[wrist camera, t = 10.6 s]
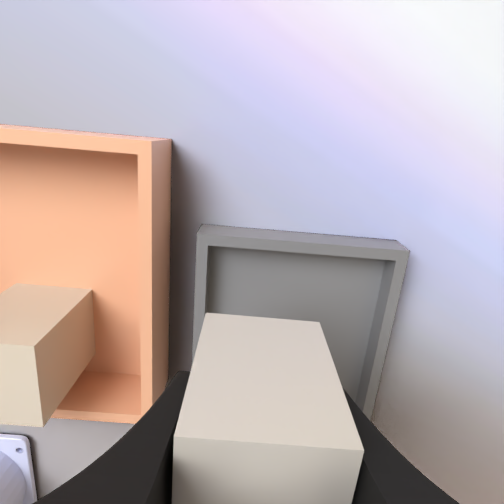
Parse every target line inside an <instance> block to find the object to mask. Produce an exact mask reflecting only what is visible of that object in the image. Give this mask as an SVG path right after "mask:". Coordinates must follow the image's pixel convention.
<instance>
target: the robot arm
mask: <svg viewBox="0 0 504 504" xmlns="http://www.w3.org/2000/svg"><path fill="white" fill-rule="evenodd" d="M189 376H190V372H186V371H179V372H178V373H176V375H175V376H174V378H173V379H172V381H171V382H170V384H169V385H168V386H167V388H166V389H165V390H164V392H163V393H162V394H161V395H160V397H159V398H158V399H157V400H156V402H155V403H154V404H153V405H152V406H151V408H150V409H149V410H148V411H147V412H146V413H145V414H144V415H143V417H142V418H141V419H140V420H139V421H138V422H137V423H136V424H135V425H134V426H133V427H132V428H131V429H130V430H129V431H128V432H127V433H126V434H125V435H124V436H123V437H122V438H121V439H120V440H119V441H118V442H117V443H115V444H114V445H113V446H112V447H111V448H110V449H109V450H108V451H106V452H105V453H104V454H103V455H102V456H100V457H99V458H98V459H97V460H95V461H94V462H93V463H92V464H91V465H89V466H88V467H87V468H85V469H84V470H83V471H81V472H80V473H79V474H77V475H76V476H74V477H73V478H71V479H70V480H68V481H67V482H66V483H64V484H63V485H61V486H60V487H58V488H57V489H55V490H54V491H52V492H51V493H49V494H48V495H46V496H44V497H43V498H41V499H39V500H38V501H37V494H36V487H35V480H34V473H33V466H32V458H31V451H30V444H29V440H28V438H27V437H25V436H23V435H10V434H0V504H172V477H173V445H174V434H175V430H176V426H177V422H178V418H179V414H180V410H181V407H182V403H183V399H184V395H185V391H186V387H187V384H188V380H189ZM342 388H343V387H342ZM343 391H344V394H345V397H346V400H347V402H348V405H349V408H350V411H351V414H352V417H353V420H354V423H355V425H356V428H357V431H358V434H359V437H360V440H361V443H362V446H363V448H364V454H363V458H362V462H361V466H360V470H359V474H358V479H357V483H356V487H355V491H354V495H353V499H352V503H351V504H459V503H458V502H457V501H455V500H454V499H453V498H451V497H450V496H449V495H448V494H446V493H445V492H444V491H442V490H441V489H440V488H439V487H437V486H436V485H435V484H434V483H432V482H431V481H430V480H429V479H428V478H427V477H425V476H424V475H423V474H422V473H421V472H420V471H419V470H418V469H416V468H415V467H414V466H413V465H412V464H411V463H410V462H409V461H408V460H407V459H406V458H404V457H403V456H402V455H401V454H400V453H399V452H398V451H397V450H396V449H395V448H394V447H393V445H392V444H391V443H390V442H389V441H388V440H387V439H386V438H385V437H384V436H383V435H382V434H381V433H380V432H379V431H378V429H377V428H376V427H375V426H374V425H373V424H372V422H371V421H370V420H369V419H368V418H367V417H366V415H365V414H364V413H363V412H362V411H361V409H360V408H359V407H358V406H357V404H356V403H355V402H354V401H353V399H352V398H351V397H350V396H349V394H348V393H347V392H346V391H345V389H344V388H343Z"/></svg>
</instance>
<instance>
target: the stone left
mask: <svg viewBox="0 0 504 504" xmlns="http://www.w3.org/2000/svg"><path fill="white" fill-rule="evenodd" d="M95 354H96V350H95V332H94V314H93V296H92V289H83V288H71V287H59V286H47V285H34V284H22V283H16V284H14V285H13V286H11V287H10V288H8V289H6V290H5V291H3V292H2V293H0V424H7V425H21V426H35V427H44V425H45V424H46V423H47V421H48V420H49V418H50V417H51V416H52V414H53V413H54V411H55V410H56V409H57V407H58V406H59V404H60V403H61V402H62V400H63V399H64V397H65V396H66V394H67V393H68V392H69V390H70V389H71V387H72V386H73V385H74V383H75V382H76V380H77V379H78V378H79V376H80V375H81V373H82V372H83V371H84V369H85V368H86V366H87V365H88V363H89V362H90V361H91V359H92V358H93V356H94V355H95Z"/></svg>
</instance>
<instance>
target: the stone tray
mask: <svg viewBox="0 0 504 504" xmlns="http://www.w3.org/2000/svg"><path fill="white" fill-rule="evenodd" d="M409 253H410V251H409V250H408V249H407V248H406V247H404V246H403V245H402V244H400V243H399V242H398V241H396V240H389V239H377V238H365V237H352V236H340V235H328V234H316V233H304V232H292V231H280V230H268V229H255V228H243V227H231V226H219V225H207V224H202V225H201V227H200V229H199V230H198V232H197V241H196V268H195V295H194V321H193V348H192V364H193V360H194V357H195V353H196V349H197V345H198V341H199V337H200V333H201V330H202V326H203V322H204V318H205V314H206V313H217V314H229V315H241V316H253V317H265V318H277V319H289V320H301V321H313V322H320V325H321V328H322V331H323V334H324V336H325V339H326V342H327V345H328V348H329V351H330V354H331V356H332V359H333V362H334V365H335V368H336V371H337V374H338V377H339V379H340V382H341V385H342V387H343V388H344V389H345V391H346V392H347V393H348V394H349V396H350V397H351V398H352V399H353V401H354V402H355V403H356V404H357V406H358V407H359V408H360V409H361V411H362V412H363V413H364V414H365V415H366V417H367V418H368V419H369V420H370V421H371V417H372V412H373V408H374V404H375V400H376V395H377V391H378V387H379V382H380V378H381V374H382V369H383V365H384V361H385V356H386V352H387V348H388V344H389V339H390V335H391V331H392V326H393V322H394V318H395V313H396V309H397V305H398V300H399V296H400V292H401V288H402V283H403V279H404V275H405V270H406V266H407V262H408V257H409Z"/></svg>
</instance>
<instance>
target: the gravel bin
mask: <svg viewBox="0 0 504 504" xmlns="http://www.w3.org/2000/svg"><path fill="white" fill-rule="evenodd" d="M170 213H171V139H165V138H154V137H142V136H131V135H119V134H108V133H96V132H85V131H74V130H62V129H51V128H39V127H28V126H16V125H5V124H0V293H2V292H3V291H5V290H6V289H8V288H10V287H11V286H13V285H14V284H16V283H22V284H34V285H47V286H59V287H71V288H83V289H92V296H93V314H94V332H95V350H96V354H95V355H94V356H93V358H92V359H91V361H90V362H89V363H88V365H87V366H86V368H85V369H84V371H83V372H82V373H81V375H80V376H79V378H78V379H77V380H76V382H75V383H74V385H73V386H72V387H71V389H70V390H69V392H68V393H67V394H66V396H65V397H64V399H63V400H62V402H61V403H60V404H59V406H58V407H57V409H56V410H55V411H54V413H53V414H52V416H51V417H50V418H62V419H76V420H90V421H104V422H118V423H133V424H136V423H137V422H138V421H139V420H140V419H141V418H142V417H143V415H144V414H145V413H146V412H147V411H148V410H149V409H150V408H151V406H152V405H153V404H154V403H155V402H156V400H157V399H158V398H159V397H160V395H161V394H162V393H163V392H164V389H165V387H166V384H167V381H168V359H169V286H170Z"/></svg>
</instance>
